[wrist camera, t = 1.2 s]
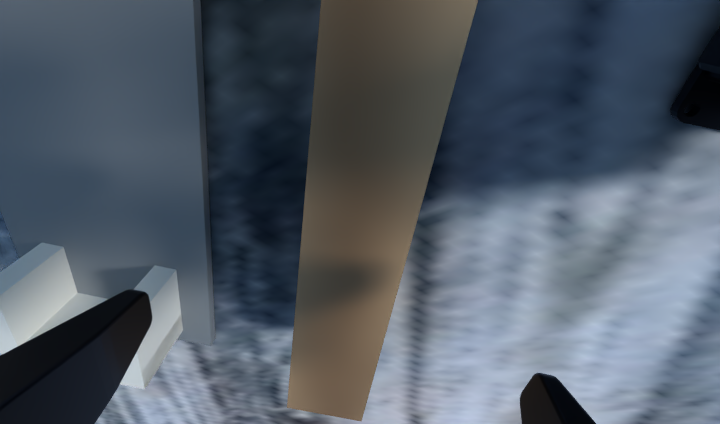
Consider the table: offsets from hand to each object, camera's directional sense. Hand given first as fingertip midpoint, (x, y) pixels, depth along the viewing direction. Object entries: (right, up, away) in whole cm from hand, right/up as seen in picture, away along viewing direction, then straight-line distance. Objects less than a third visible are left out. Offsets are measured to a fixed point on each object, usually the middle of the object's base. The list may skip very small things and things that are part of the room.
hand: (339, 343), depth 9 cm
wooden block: (+1, +5, +9) cm, 10 cm away
